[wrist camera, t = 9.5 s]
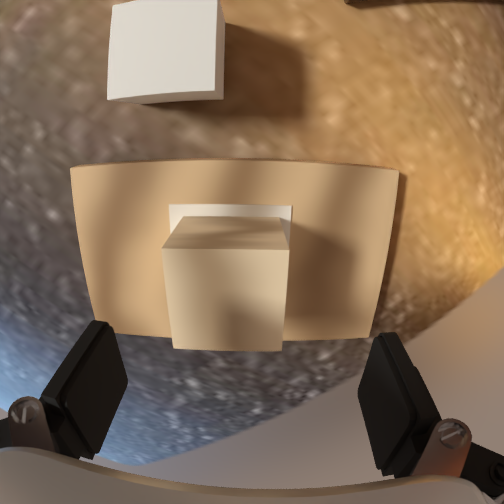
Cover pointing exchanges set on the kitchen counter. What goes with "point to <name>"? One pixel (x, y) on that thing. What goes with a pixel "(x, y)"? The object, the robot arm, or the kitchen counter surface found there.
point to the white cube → (166, 51)
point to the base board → (246, 205)
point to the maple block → (226, 283)
